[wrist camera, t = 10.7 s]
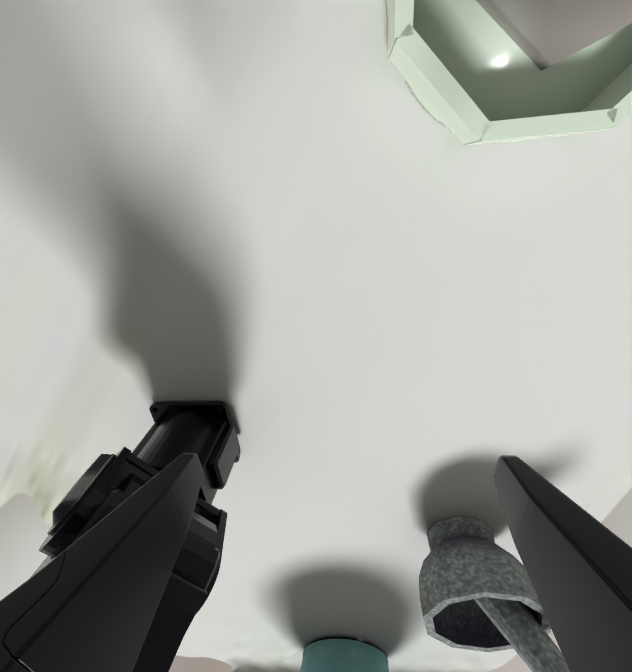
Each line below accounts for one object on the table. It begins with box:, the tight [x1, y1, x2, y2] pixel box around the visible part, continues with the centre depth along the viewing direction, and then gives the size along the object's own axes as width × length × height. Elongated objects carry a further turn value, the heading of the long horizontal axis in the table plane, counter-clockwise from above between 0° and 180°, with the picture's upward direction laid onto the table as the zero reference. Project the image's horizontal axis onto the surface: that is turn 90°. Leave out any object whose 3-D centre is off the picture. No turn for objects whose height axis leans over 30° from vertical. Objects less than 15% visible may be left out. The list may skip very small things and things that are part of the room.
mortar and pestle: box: [419, 516, 570, 672], centre depth 26 cm, size 11×9×12 cm
